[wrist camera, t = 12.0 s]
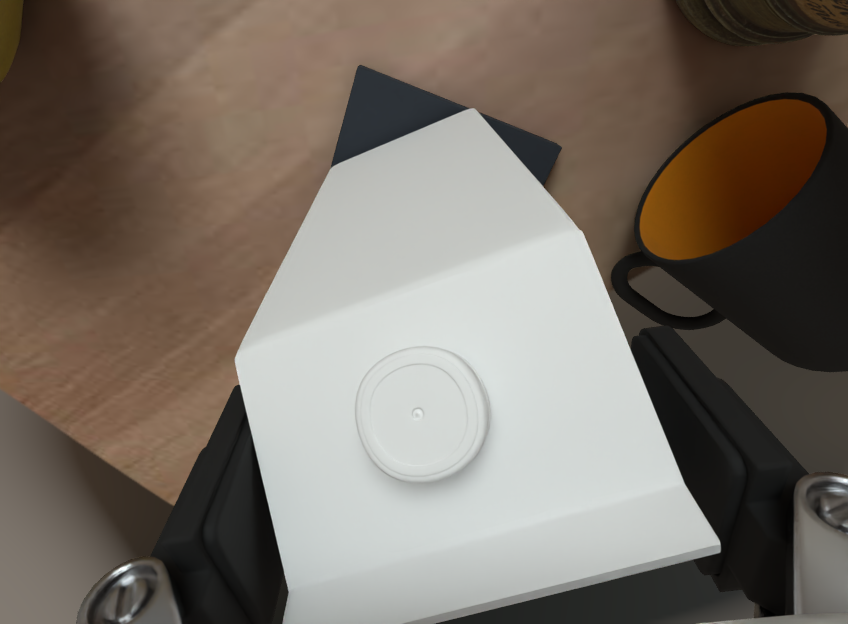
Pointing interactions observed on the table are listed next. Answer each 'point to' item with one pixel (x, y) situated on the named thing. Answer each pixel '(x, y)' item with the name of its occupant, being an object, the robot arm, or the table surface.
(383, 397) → the milk carton
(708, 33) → the container
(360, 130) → the slate mat
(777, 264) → the mug
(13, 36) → the flower pot
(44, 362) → the table surface
